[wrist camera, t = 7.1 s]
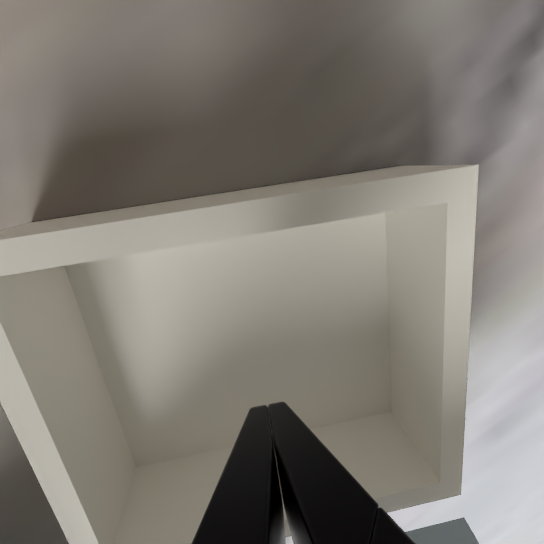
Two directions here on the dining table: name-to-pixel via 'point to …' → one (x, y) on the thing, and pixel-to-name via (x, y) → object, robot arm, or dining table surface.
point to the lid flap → (444, 533)
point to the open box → (240, 342)
